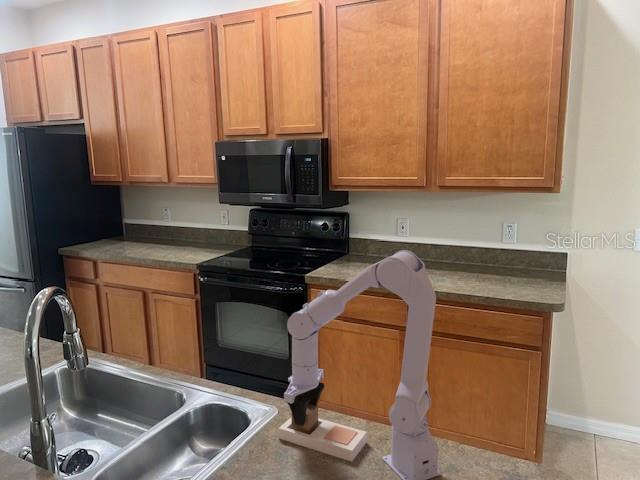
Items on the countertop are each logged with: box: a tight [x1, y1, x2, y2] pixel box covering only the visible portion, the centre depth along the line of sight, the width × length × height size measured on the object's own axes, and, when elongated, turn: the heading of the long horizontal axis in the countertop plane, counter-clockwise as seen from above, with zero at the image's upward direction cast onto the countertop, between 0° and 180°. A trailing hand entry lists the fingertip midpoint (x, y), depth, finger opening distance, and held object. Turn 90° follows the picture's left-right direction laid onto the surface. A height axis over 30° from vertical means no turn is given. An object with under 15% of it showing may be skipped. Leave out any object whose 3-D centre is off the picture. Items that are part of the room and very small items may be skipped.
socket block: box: [278, 416, 368, 463], centre depth 105 cm, size 18×8×3 cm, turn 62°
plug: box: [291, 404, 319, 435], centre depth 107 cm, size 4×4×6 cm
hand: (304, 419), depth 107 cm, fingers closed on plug, 4 cm apart
